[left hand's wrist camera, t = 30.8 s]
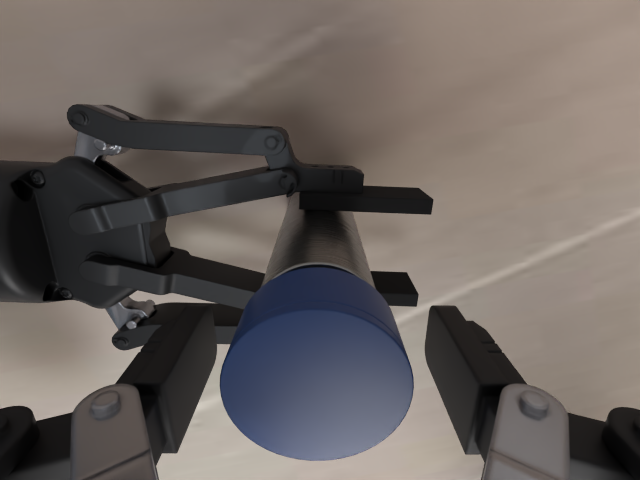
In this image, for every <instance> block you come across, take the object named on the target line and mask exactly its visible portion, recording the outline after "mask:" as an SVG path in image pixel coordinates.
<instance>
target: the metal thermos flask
mask: <svg viewBox="0 0 640 480" xmlns="http://www.w3.org/2000/svg"><path fill="white" fill-rule="evenodd" d="M299 193H300V192H295V193H294V194H293V195H292V197H291V200H290V202H289V205H288V208H287V211H286V214H285V217H284V220H283V223H282V226H281V229H280V232H279V235H278V238H277V241H276V244H275V247H274V250H273V253H272V256H271V259H270V262H269V265H268V268H267V271H266V274H265V276H264V279H263V282H262V285H261V287H262V286H263V285H265V284H266V283H268V282H269V281H270V280H272V279H274V278H276V277H278V276H280V275H282V274H285V273H288V272H290V271H294V270H298V269H304V268H330V269H336V270H340V271H344V272H347V273H350V274H352V275H355V276H357V277H359V278H360V279H362V280H364V281H366V282H367V283H368V284H370V285H371V286H373V287H374V288H375V285H374V282H373V279H372V275H371V272H370V269H369V265H368V262H367V259H366V255H365V252H364V249H363V245H362V242H361V239H360V236H359V232H358V229H357V226H356V222H355V219H354V216H353V212H352V211H327V210H300V209H299ZM375 289H376V288H375Z"/></svg>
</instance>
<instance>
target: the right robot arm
mask: <svg viewBox="0 0 640 480" xmlns="http://www.w3.org/2000/svg"><path fill="white" fill-rule="evenodd" d="M67 119H68V121H69V124H70V125H71V126H72V127H73V128H74V129H75V130H77V131H78V136H77V141H76V147H75V153H74V156H69V157H65V158H63V159H61V160H60V161H58V162H56V163H51V162H26V161H0V302H24V303H47V302H55V301H63V300H77V301H80V302H83V303H86V304H88V305H90V306H92V307H95V308H101V309H103V308H105V309H106V311H107V312H108V314H109V315H110V317H111V318H112V320H113V322H114V323H115V325H116V326H117V328H118V331H117V332H116V333H115V334H114V336H113V337H112V343H113V345H114V346H115V347H116V348H118V349H120V350H129V349H133V348H136V347H139V346H143V345H145V343H147V342H148V339H149V338H150V337H151V335H152V334H153V333H154V331H155V330H156V329H157V328H159V327H160V326H162V325H163V324H165V323H166V322H167V321H169V320H176V319H177V318H178V316H179V315H180V314H181V312H182V311H183V309H184V308H185V306H187V305H210V306H211V307H212V310H213V318H214V326H215V334H216V342H217V344H231V342H232V339H233V337H234V334H235V332H236V329H237V326H238V324H239V321H240V319H241V316H242V314H243V311H244V309H245V307H246V305H247V303H248V302H249V300H250V299H251V297H252V296H253V295H254V294H255V293H256V292H257V291H258V290H259V289H260V288H261V285H262V282H263V279H264V276H265V274H264V273H260V272H256V271H252V270H248V269H244V268H240V267H236V266H232V265H228V264H224V263H219V262H215V261H211V260H207V259H203V258H199V257H195V256H191V255H190V254H189V252H187V251H186V250H182V249H178V248H174V247H170V243H169V240H168V238H167V235H166V233H165V226H166V220H167V217H168V216H173V215H179V214H184V213H189V212H194V211H200V210H205V209H210V208H216V207H221V206H226V205H232V204H237V203H242V202H247V201H253V200H258V199H263V198H269V197H274V196H279V195H285V194H287V197H289V196H292V195H293V194H294V193H295V192H300V193H299V209H300V210H327V211H353V212H379V213H405V214H431V212H432V205H433V199H432V198H431V197H429V196H428V195H427V194H426V193H424V192H423V191H422V190H421V189H419V188H407V187H382V186H363V180H364V174H363V173H362V171H361V170H360V169H357V168H355V167H353V166H340V165H317V164H304V163H302V162H300V161H299V160H297V158H296V157H295V155H294V153H293V150H292V147H291V144H290V141H289V136H288V133H287V132H286V130H284V129H283V128H281V127H274V126H256V125H237V124H219V123H200V122H182V121H163V120H145V119H143V118H140V117H138V116H136V115H133V114H131V113H128V112H126V111H124V110H121V109H119V108H116V107H114V106H110V105H87V104H76V105H72V106H71V107H70V108H69V109H68V112H67ZM130 148H134V149H151V150H170V151H189V152H208V153H227V154H246V155H265V157H266V160H267V163H268V165H269V166H266V167H260V168H255V169H250V170H245V171H240V172H235V173H230V174H224V175H219V176H214V177H209V178H204V179H199V180H194V181H189V182H183V183H173V184H168V185H162V186H157V187H152V188H145V187H144V186H142V185H141V184H140V183H138V182H137V181H135V180H134V179H132V178H131V177H129V176H128V175H126V174H125V173H123V172H122V171H121V170H119V169H118V168H116V167H115V166H113V165H112V164H110V163H109V162H107V161H106V160H105V159H106V157H107V155H111V156H112V155H117V154H122V153H125V152H127V151H128V150H129V149H130ZM370 272H371V275H372V279H373V282H374V285H375V288H376V290H377V291H378V292H379V293H380V294H381V295H382V297H383V298H384V299H385V300H386V302H387V304H388V305H389V306H415V307H417V301H418V293H417V291H416V289H415V287H414V285H413V283H412V281H411V279H410V278H409V276H408V274H407V272H381V271H370ZM137 290H139V291H144V292H148V293H152V294H157V295H165V294H168V293H176V294H180V295H185V296H189V297H193V298H198V299H202V300H206V301H210V302H215V303H163V304H158V305H155V303H154V301H152V300H147V301H146V302H145V301H139V302H138V301H134V300H132V299H131V298H130V297H129V296H130V295H131V294H132V293H134V292H135V291H137ZM216 303H219V304H216Z"/></svg>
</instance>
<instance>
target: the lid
mask: <svg viewBox="0 0 640 480" xmlns="http://www.w3.org/2000/svg"><path fill="white" fill-rule="evenodd" d="M413 388H414V383H413V373H412V369H411V365H410V362H409V359H408V357H407V354H406V351H405V348H404V345H403V342H402V339H401V336H400V334H399V331H398V328H397V325H396V322H395V319H394V317H393V314H392V311H391V309H390V307H389V305H388V304H387V302H386V300H385V299H384V298H383V297H382V295H381V294H380V293H379V292H378V291H377V290H376V289H375V288H374V287H373V286H371V285H370V284H368V283H367V282H366V281H364V280H362V279H360V278H359V277H357V276H355V275H352V274H350V273H347V272H344V271H340V270H336V269H330V268H304V269H298V270H294V271H290V272H288V273H285V274H282V275H280V276H278V277H276V278H274V279H272V280H270V281H269V282H268V283H266V284H265V285H263V286H262V287H261V288H260V289H259V290H258V291H257V292H256V293H255V294H254V295H253V296H252V297H251V299H250V300H249V302H248V303H247V305H246V307H245V309H244V311H243V314H242V316H241V319H240V321H239V324H238V326H237V329H236V332H235V334H234V337H233V339H232V342H231V345H230V347H229V350H228V353H227V355H226V358H225V360H224V363H223V366H222V370H221V375H220V391H221V397H222V401H223V404H224V407H225V409H226V411H227V414H228V415H229V417H230V419H231V420H232V422H233V423H234V424H235V425H236V427H237V428H238V429H239V430H240V431H241V432H242V433H243V434H244V435H245V436H246V437H248V438H249V439H250V440H252V441H253V442H255V443H256V444H257V445H259V446H261V447H263V448H265V449H267V450H269V451H271V452H274V453H276V454H279V455H282V456H286V457H290V458H295V459H300V460H310V461H324V460H334V459H340V458H345V457H349V456H352V455H356V454H358V453H361V452H363V451H366V450H368V449H370V448H371V447H373V446H375V445H377V444H378V443H380V442H381V441H383V440H384V439H385V438H387V437H388V436H389V435H390V434H391V433H392V432H393V431H394V430H395V429H396V428H397V427H398V426H399V425H400V423H401V422H402V420H403V419H404V417H405V415H406V413H407V411H408V409H409V407H410V403H411V400H412V396H413Z"/></svg>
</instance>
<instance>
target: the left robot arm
mask: <svg viewBox="0 0 640 480" xmlns="http://www.w3.org/2000/svg"><path fill="white" fill-rule="evenodd" d="M216 354H217V342H216V334H215V326H214V318H213V310H212V307H211V306H210V305H187V306H185V308H184V309H183V311H182V312H181V314H180V315H179V316H178V318H177V319H176V320H169V321H167V322H166V323H165V324H163V325H162V326H160V327H159V328H157V329H156V330H155V331H154V333H153V334H152V335H151V337H150V338H149V339H148V342H147V343H145V345H144V346H143V347H142V349H141V352H139V353H138V354H137V355H136V357H135V358H134V360H133V361H132V362H131V364H130V365H129V366H128V368H127V369H126V370H125V372H124V373H123V374H122V376H121V377H120V378H119V380H118V381H117V382H116V384H114V385H109V386H106V387H103V388H101V389H99V390H97V391H95V392H93V393H91V394H90V395H88V396H87V397H85V398H84V399H83V400H82V401H81V402H80V403H79V404H78V405H77V406H76V408H75V409H74V411H73V412H72V413H68V414H64V415H60V416H56V417H52V418H47V419H43V420H39V421H36V420H35V418H34V415H33V412H32V411H31V409H29V408H28V407H25V406H11V407H6V408H2V409H0V480H159V477H158V473H157V468H156V465H157V463H158V461H159V458H160V456H161V454H162V453H177V452H178V450H179V447H180V445H181V443H182V440H183V438H184V435H185V433H186V431H187V428H188V426H189V423H190V421H191V419H192V416H193V414H194V411H195V409H196V407H197V404H198V402H199V399H200V397H201V395H202V392H203V390H204V387H205V385H206V383H207V380H208V378H209V375H210V373H211V371H212V368H213V366H214V363H215V360H216ZM425 356H426V361H427V365H428V367H429V369H430V372H431V374H432V376H433V379H434V381H435V384H436V386H437V388H438V391H439V393H440V395H441V398H442V400H443V402H444V405H445V407H446V410H447V412H448V414H449V417H450V419H451V421H452V424H453V426H454V428H455V431H456V433H457V436H458V438H459V440H460V443H461V445H462V447H463V450H464V452H465V454H481V456H482V458H483V460H484V462H485V464H484V468H483V473H482V477H481V480H640V410H638V409H634V408H628V407H618V408H614V409H612V410H611V411H610V412H609V414H608V417H607V420H606V422H603V421H599V420H595V419H591V418H587V417H583V416H578V415H574V414H571V413H567V411H566V409H565V408H564V406H563V405H562V404H561V403H560V402H559V401H558V400H557V399H556V398H555V397H553V396H552V395H550V394H549V393H547V392H545V391H543V390H541V389H539V388H537V387H534V386H531V385H527V383H526V382H525V381H524V379H523V378H522V377H521V375H520V374H519V373H518V372H517V370H516V369H515V368H514V366H513V365H512V364H511V362H510V361H509V360H508V358H507V357H506V356H505V354H504V353H502V350H501V349H500V348H499V346H498V345H497V344H495V341H494V340H493V338H492V337H491V336H490V334H489V333H488V332H487V331H486V330H485V329H484V328H482V327H481V326H479V325H478V324H477V323H475V322H474V321H466V320H465V318H464V317H463V315H462V314H461V313H460V311H459V310H458V308H457V307H456V306H431V307H430V310H429V317H428V325H427V333H426V340H425Z"/></svg>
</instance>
